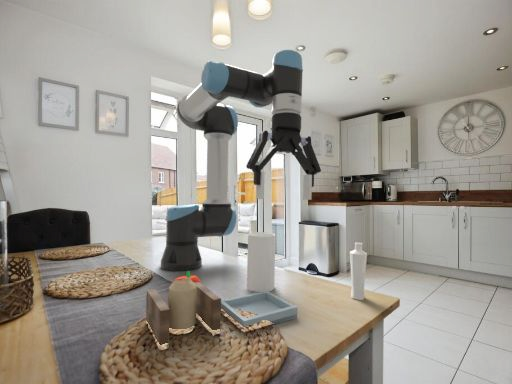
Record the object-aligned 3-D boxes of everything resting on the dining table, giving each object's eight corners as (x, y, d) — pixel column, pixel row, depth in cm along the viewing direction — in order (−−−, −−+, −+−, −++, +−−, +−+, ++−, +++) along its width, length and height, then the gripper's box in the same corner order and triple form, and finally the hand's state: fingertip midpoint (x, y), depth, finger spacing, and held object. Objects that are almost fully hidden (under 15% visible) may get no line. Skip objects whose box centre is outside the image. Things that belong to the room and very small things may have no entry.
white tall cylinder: (272, 293, 77) (273, 236, 77) (243, 290, 79) (245, 235, 79) (275, 284, 85) (277, 232, 85) (250, 282, 87) (251, 231, 87)
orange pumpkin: (169, 295, 76) (169, 271, 76) (197, 290, 79) (197, 268, 80) (174, 300, 69) (174, 274, 70) (205, 295, 73) (204, 271, 74)
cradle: (145, 323, 58) (146, 290, 58) (198, 311, 64) (199, 281, 64) (159, 351, 48) (160, 310, 48) (220, 334, 54) (221, 298, 54)
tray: (218, 311, 64) (218, 300, 64) (266, 299, 72) (267, 290, 72) (243, 333, 54) (244, 321, 54) (297, 317, 62) (297, 306, 62)
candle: (184, 319, 60) (186, 274, 60) (201, 328, 56) (202, 279, 56) (162, 329, 55) (163, 279, 55) (178, 338, 52) (179, 285, 52)
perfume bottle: (355, 301, 72) (356, 244, 73) (346, 295, 77) (347, 242, 77) (370, 299, 74) (371, 244, 74) (360, 294, 78) (361, 241, 78)
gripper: (246, 103, 60) (244, 198, 60) (335, 118, 71) (333, 200, 70) (234, 112, 67) (232, 198, 67) (317, 125, 78) (316, 199, 77)
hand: (284, 199), depth 69 cm, fingers open, 13 cm apart
